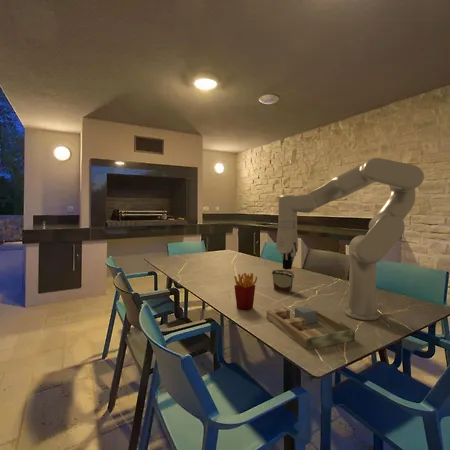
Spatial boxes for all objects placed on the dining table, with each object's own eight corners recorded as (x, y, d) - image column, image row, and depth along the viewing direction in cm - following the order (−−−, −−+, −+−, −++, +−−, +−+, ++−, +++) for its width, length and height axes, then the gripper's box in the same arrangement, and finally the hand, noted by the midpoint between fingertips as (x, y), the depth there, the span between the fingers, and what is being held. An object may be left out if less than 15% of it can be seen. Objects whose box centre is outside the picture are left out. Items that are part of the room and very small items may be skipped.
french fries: (246, 312, 116) (246, 276, 115) (231, 307, 121) (230, 273, 120) (258, 306, 122) (258, 272, 121) (243, 302, 128) (243, 269, 127)
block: (307, 317, 111) (307, 305, 111) (316, 322, 106) (316, 310, 106) (294, 319, 109) (294, 307, 109) (303, 324, 104) (303, 312, 104)
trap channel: (305, 312, 116) (306, 303, 116) (354, 340, 91) (354, 329, 91) (266, 318, 110) (266, 308, 110) (307, 349, 85) (307, 338, 85)
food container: (298, 291, 144) (299, 272, 143) (292, 294, 139) (292, 274, 139) (278, 286, 152) (278, 268, 151) (271, 289, 148) (271, 270, 147)
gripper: (270, 224, 123) (270, 266, 124) (289, 226, 109) (289, 273, 110) (285, 223, 126) (285, 264, 127) (306, 226, 111) (305, 272, 113)
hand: (287, 268), depth 119 cm, fingers closed
